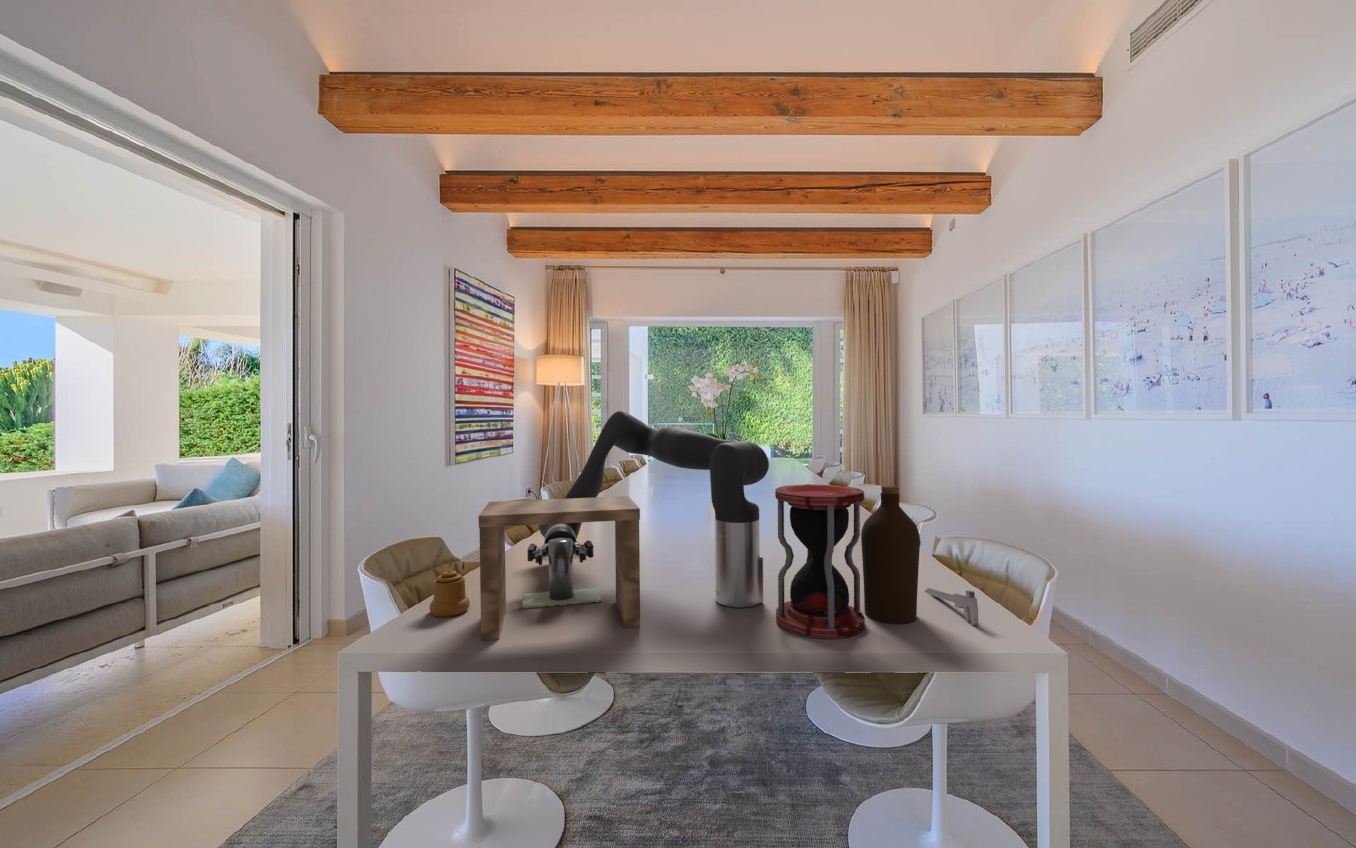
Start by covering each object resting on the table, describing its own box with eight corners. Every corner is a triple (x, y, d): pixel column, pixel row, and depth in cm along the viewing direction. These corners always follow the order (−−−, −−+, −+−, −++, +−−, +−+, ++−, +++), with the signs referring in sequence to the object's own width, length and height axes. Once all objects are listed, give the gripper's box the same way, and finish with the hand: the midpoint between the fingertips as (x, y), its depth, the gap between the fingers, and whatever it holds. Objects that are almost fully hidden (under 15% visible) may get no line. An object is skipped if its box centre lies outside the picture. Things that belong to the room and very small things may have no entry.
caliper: (978, 628, 101) (978, 593, 101) (972, 628, 101) (972, 593, 101) (929, 592, 122) (929, 563, 122) (924, 592, 122) (924, 563, 122)
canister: (572, 592, 121) (572, 537, 121) (573, 599, 116) (572, 542, 116) (549, 594, 120) (548, 538, 120) (549, 601, 115) (548, 543, 115)
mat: (598, 590, 124) (598, 588, 124) (601, 602, 116) (601, 599, 116) (524, 596, 120) (523, 593, 120) (521, 608, 113) (521, 606, 113)
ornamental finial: (477, 607, 114) (452, 620, 107) (447, 603, 116) (421, 616, 109) (477, 568, 114) (452, 578, 107) (446, 565, 116) (420, 575, 109)
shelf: (629, 599, 117) (628, 496, 117) (641, 628, 102) (639, 508, 101) (490, 611, 111) (489, 501, 111) (480, 643, 96) (478, 516, 95)
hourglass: (786, 640, 96) (785, 496, 95) (768, 608, 112) (767, 484, 111) (878, 638, 96) (878, 494, 96) (847, 606, 112) (846, 483, 112)
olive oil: (887, 628, 100) (886, 491, 100) (849, 609, 110) (849, 484, 110) (932, 620, 104) (932, 488, 104) (892, 603, 114) (892, 481, 114)
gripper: (529, 527, 131) (526, 543, 116) (590, 524, 134) (594, 539, 119) (529, 559, 132) (526, 579, 116) (590, 555, 135) (595, 574, 119)
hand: (561, 559), depth 117 cm, fingers open, 8 cm apart
